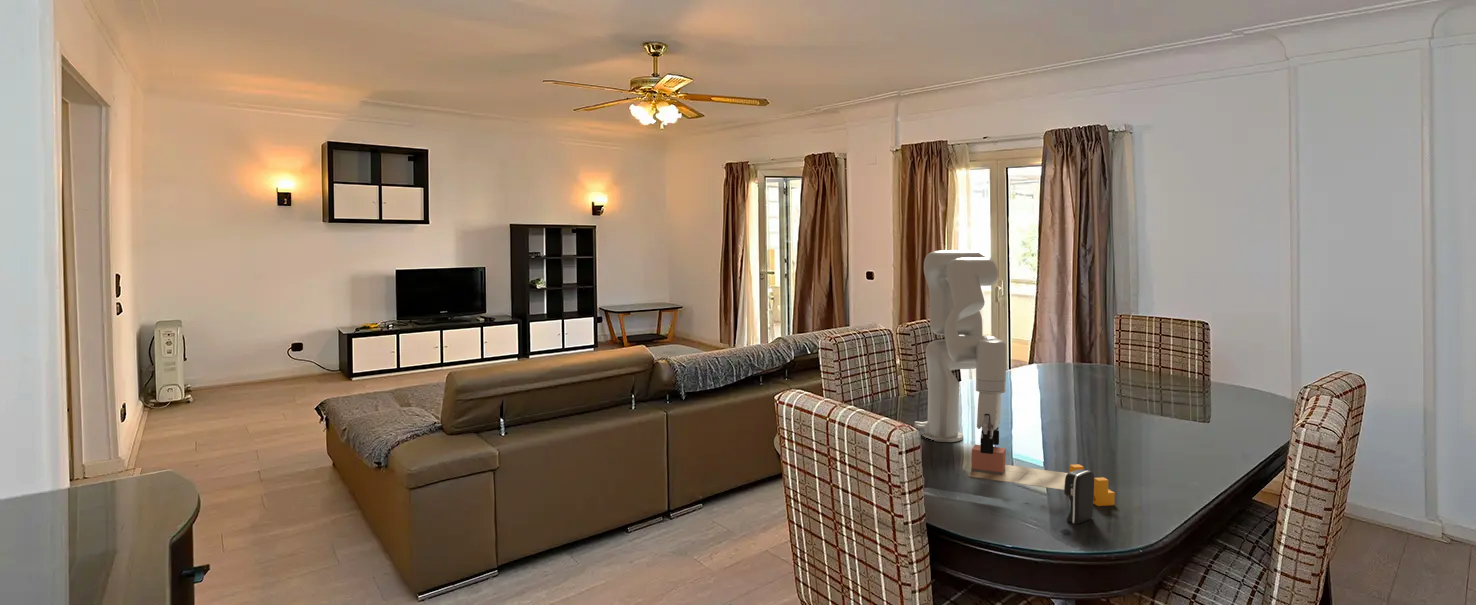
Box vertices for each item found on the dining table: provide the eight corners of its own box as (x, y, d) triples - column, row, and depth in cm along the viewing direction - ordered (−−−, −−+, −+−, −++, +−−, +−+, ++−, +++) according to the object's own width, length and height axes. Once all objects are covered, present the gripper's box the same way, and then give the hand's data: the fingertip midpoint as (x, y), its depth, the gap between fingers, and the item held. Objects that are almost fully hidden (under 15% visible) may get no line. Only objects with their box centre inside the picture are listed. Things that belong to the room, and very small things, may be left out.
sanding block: (971, 470, 196) (971, 449, 196) (974, 465, 201) (975, 444, 200) (1002, 475, 193) (1003, 453, 192) (1005, 469, 197) (1005, 448, 196)
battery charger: (1077, 513, 170) (1079, 465, 169) (1093, 518, 167) (1095, 470, 166) (1060, 520, 166) (1062, 471, 165) (1076, 525, 163) (1078, 476, 162)
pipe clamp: (1114, 505, 175) (1115, 479, 175) (1097, 506, 175) (1098, 480, 174) (1084, 488, 187) (1085, 464, 187) (1068, 489, 187) (1069, 464, 186)
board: (968, 481, 192) (968, 476, 192) (977, 466, 205) (977, 461, 205) (1067, 496, 181) (1067, 490, 181) (1070, 479, 194) (1071, 473, 194)
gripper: (981, 379, 204) (980, 439, 205) (970, 390, 188) (969, 455, 189) (1009, 381, 200) (1009, 442, 201) (1000, 392, 185) (999, 458, 186)
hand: (989, 448), depth 195 cm, fingers open, 9 cm apart
